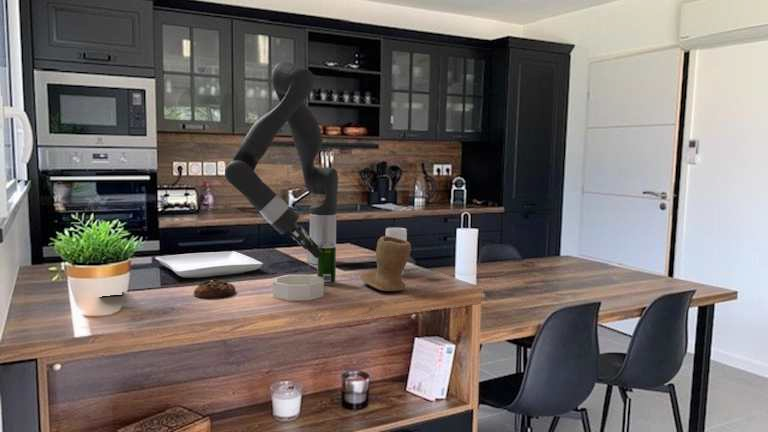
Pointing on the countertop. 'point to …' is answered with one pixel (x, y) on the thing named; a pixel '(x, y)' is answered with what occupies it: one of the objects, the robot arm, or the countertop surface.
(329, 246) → the beer can
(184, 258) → the square plate
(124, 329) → the countertop surface
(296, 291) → the cream bowl
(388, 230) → the drinking glass
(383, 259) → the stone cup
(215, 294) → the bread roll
